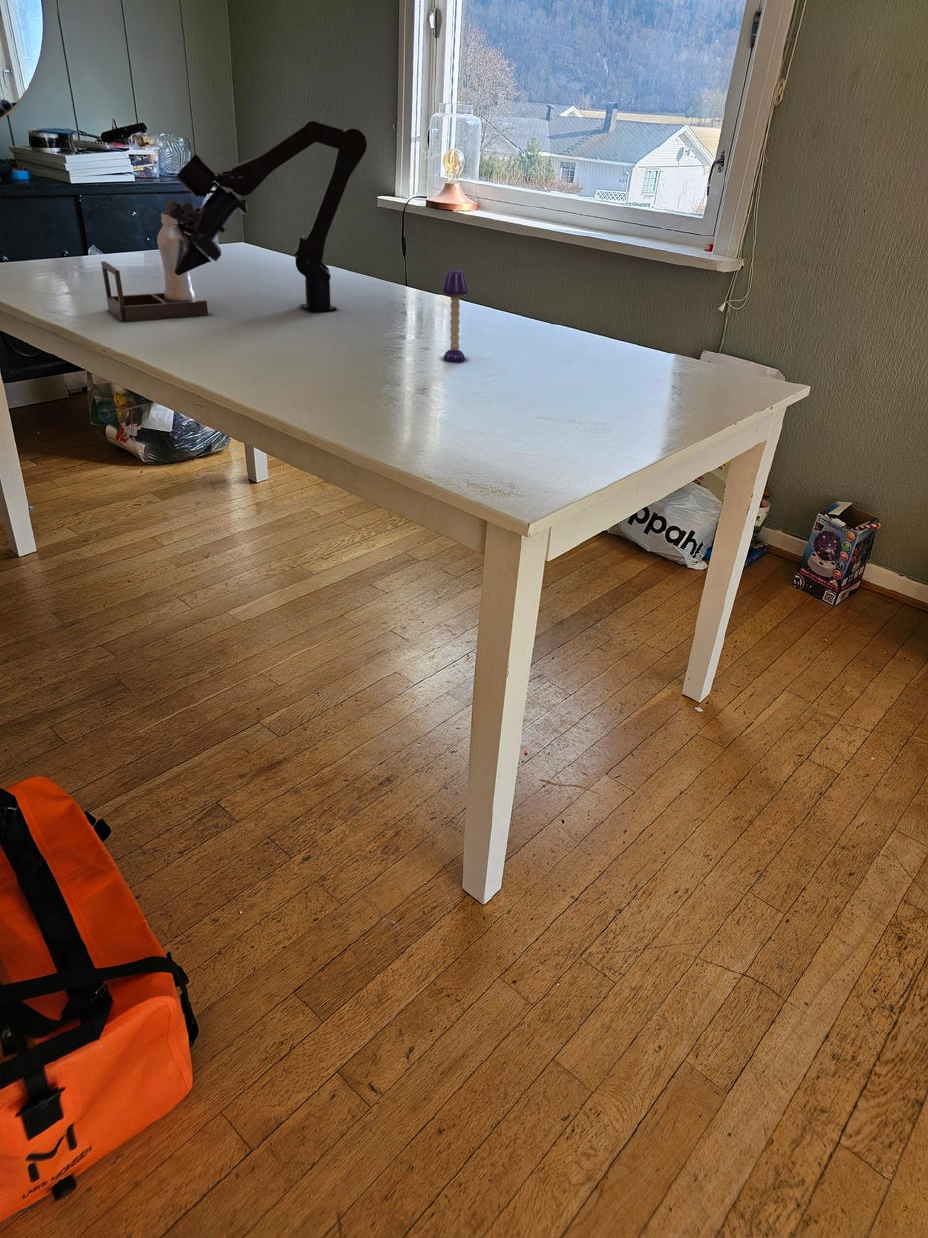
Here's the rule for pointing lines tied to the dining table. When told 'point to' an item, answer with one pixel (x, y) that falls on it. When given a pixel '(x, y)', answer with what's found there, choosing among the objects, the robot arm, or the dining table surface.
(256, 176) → the robot arm
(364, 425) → the dining table surface
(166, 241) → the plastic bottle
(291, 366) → the dining table surface
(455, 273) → the toy lamp
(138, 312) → the wooden divided caddy
